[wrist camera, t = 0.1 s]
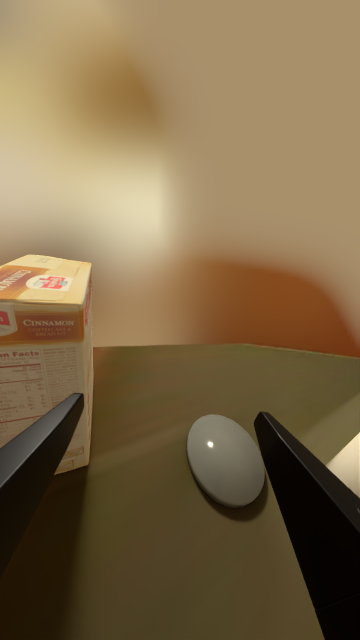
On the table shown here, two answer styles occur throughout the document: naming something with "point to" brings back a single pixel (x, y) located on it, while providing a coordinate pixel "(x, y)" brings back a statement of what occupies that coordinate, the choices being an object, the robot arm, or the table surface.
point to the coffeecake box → (46, 346)
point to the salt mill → (348, 465)
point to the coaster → (225, 461)
